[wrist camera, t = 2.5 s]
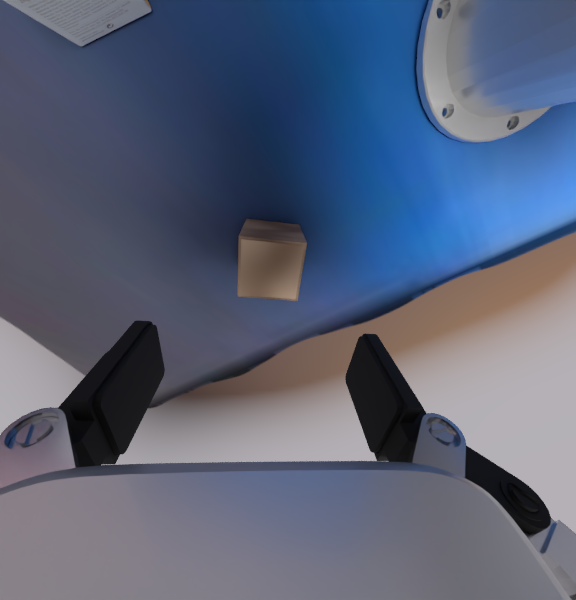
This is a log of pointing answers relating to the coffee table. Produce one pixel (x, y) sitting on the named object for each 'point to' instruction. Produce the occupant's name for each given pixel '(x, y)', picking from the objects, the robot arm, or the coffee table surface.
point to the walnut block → (270, 260)
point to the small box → (83, 16)
